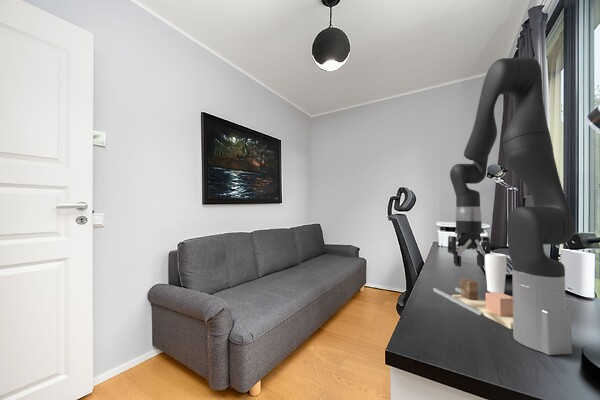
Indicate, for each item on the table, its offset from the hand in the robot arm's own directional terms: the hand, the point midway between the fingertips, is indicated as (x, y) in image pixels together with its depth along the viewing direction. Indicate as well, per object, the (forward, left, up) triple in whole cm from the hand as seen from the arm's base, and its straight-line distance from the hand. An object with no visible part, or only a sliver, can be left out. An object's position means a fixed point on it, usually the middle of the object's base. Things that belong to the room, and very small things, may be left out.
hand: (469, 266), depth 86 cm
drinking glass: (+9, -19, -13) cm, 25 cm away
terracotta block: (-12, 0, -11) cm, 16 cm away
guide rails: (+1, 0, -13) cm, 13 cm away
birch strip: (-8, 0, -13) cm, 15 cm away
